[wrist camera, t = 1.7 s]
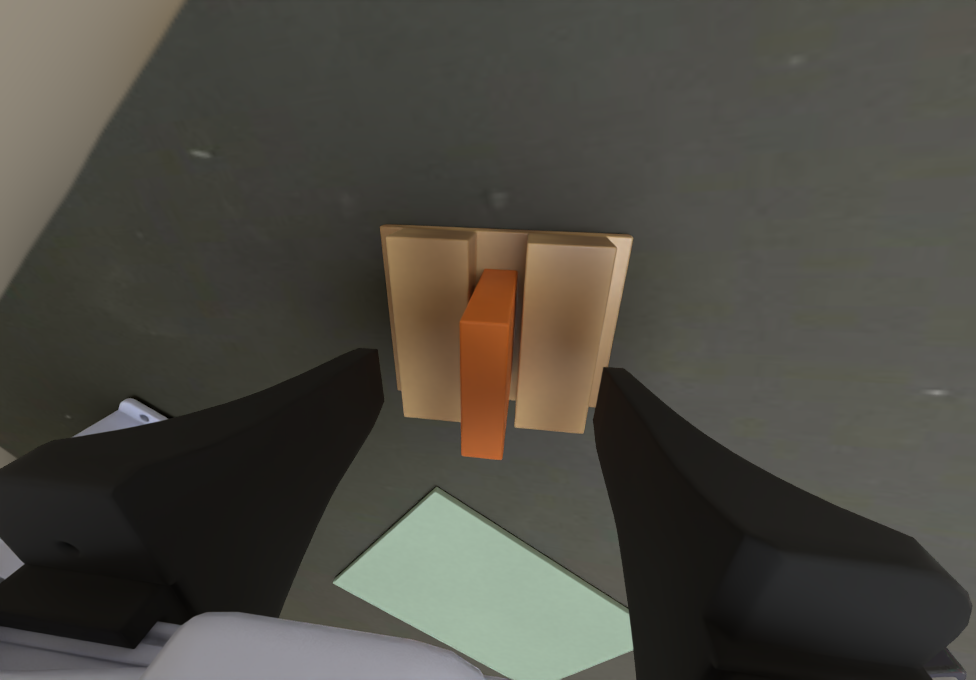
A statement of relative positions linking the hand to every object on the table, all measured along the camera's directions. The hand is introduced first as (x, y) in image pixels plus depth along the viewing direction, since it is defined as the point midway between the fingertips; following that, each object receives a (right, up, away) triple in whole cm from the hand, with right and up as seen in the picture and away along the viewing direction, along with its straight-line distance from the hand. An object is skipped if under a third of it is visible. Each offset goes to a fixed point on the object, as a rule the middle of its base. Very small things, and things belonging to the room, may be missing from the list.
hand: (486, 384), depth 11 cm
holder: (+1, +2, +5) cm, 5 cm away
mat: (0, -18, +15) cm, 23 cm away
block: (+1, +2, +4) cm, 5 cm away
